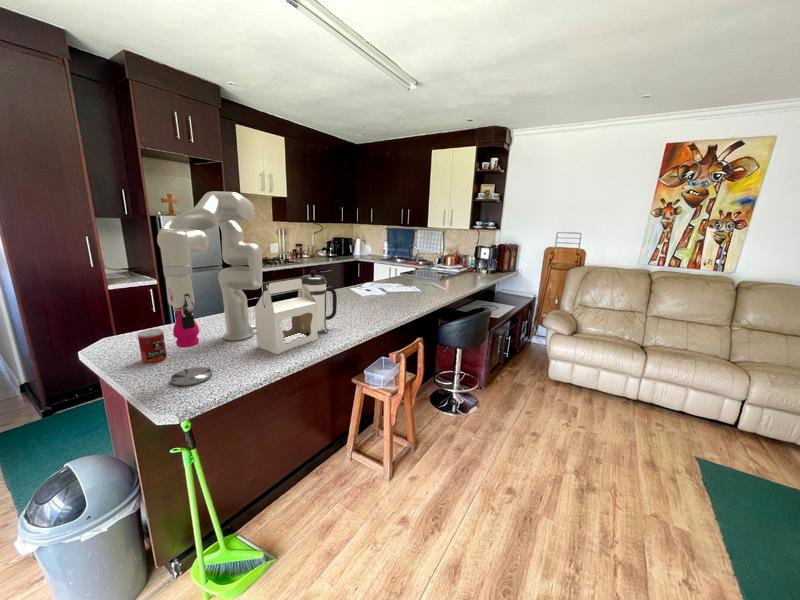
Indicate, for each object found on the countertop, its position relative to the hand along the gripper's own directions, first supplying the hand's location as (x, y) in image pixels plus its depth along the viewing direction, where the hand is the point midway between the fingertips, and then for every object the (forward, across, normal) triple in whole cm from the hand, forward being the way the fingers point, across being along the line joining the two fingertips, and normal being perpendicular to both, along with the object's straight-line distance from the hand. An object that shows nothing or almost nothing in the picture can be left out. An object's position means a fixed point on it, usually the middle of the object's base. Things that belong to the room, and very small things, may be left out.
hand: (185, 325), depth 109 cm
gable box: (+19, -6, +40) cm, 45 cm away
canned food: (+19, -26, -4) cm, 32 cm away
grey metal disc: (+19, 0, 0) cm, 19 cm away
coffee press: (+19, -11, +58) cm, 62 cm away
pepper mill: (+7, 0, 0) cm, 7 cm away
